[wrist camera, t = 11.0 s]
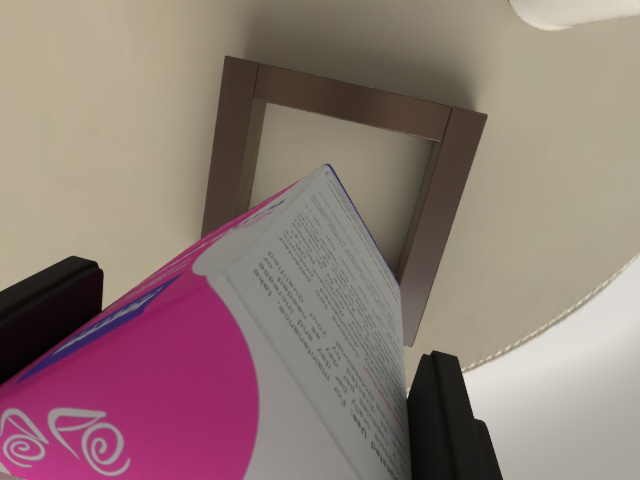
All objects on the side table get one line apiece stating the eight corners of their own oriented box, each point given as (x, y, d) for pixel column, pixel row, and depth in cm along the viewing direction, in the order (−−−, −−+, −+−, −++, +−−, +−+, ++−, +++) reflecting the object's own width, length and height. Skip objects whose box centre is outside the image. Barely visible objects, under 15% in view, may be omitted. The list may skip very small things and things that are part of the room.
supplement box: (326, 154, 17) (228, 264, 6) (402, 285, 18) (439, 581, 7) (203, 227, 18) (-59, 423, 7) (281, 343, 19) (155, 661, 8)
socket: (211, 272, 30) (193, 290, 27) (242, 59, 26) (224, 55, 23) (409, 323, 29) (412, 347, 27) (476, 112, 25) (488, 114, 22)
